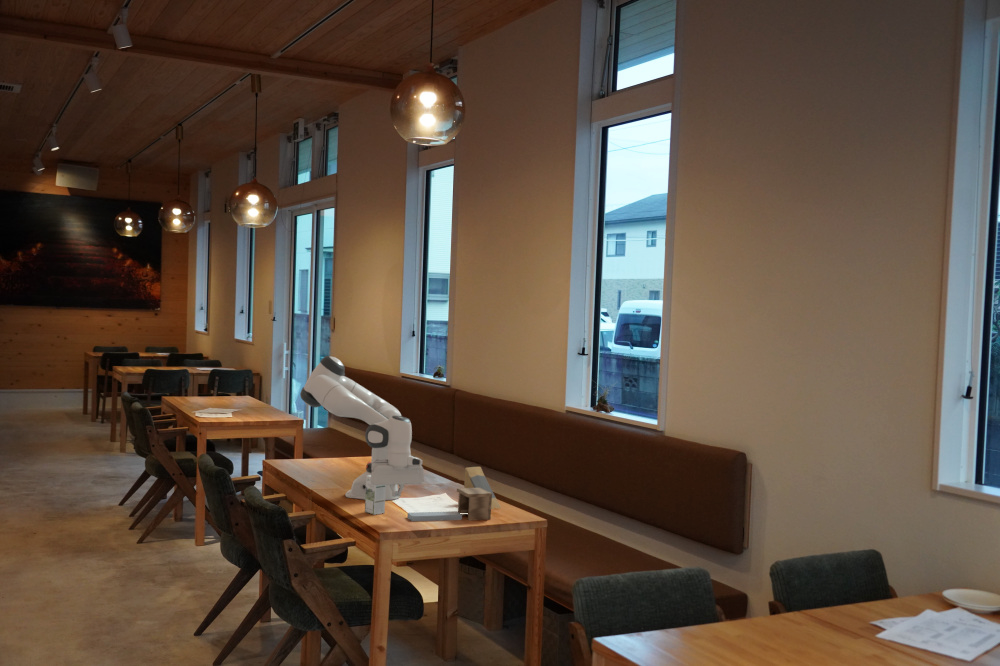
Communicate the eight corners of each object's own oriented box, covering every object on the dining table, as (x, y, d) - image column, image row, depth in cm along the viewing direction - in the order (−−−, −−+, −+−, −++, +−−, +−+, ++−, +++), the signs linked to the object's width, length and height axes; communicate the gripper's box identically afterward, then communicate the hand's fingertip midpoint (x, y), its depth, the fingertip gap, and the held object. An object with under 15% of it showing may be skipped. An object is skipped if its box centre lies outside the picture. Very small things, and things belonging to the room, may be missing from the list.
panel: (411, 522, 326) (412, 516, 326) (407, 518, 332) (407, 512, 332) (461, 520, 334) (462, 514, 334) (456, 517, 340) (456, 511, 340)
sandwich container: (486, 510, 354) (488, 473, 354) (462, 502, 366) (464, 467, 365) (502, 508, 360) (504, 472, 360) (478, 501, 371) (480, 466, 371)
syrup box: (385, 513, 337) (387, 476, 337) (373, 515, 332) (375, 477, 332) (375, 510, 341) (377, 473, 341) (363, 512, 336) (366, 475, 336)
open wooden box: (466, 520, 333) (468, 494, 333) (455, 514, 343) (456, 488, 343) (490, 519, 337) (492, 493, 337) (478, 512, 347) (480, 487, 347)
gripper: (374, 461, 318) (372, 498, 318) (426, 460, 327) (424, 497, 327) (369, 458, 324) (367, 495, 324) (420, 457, 333) (418, 493, 333)
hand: (396, 496), depth 326 cm, fingers closed
